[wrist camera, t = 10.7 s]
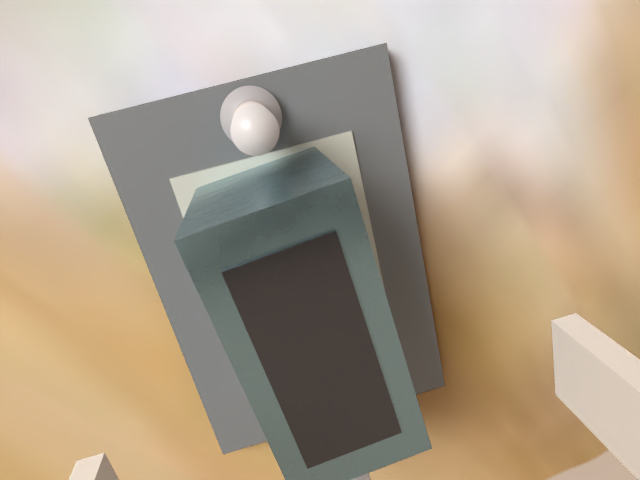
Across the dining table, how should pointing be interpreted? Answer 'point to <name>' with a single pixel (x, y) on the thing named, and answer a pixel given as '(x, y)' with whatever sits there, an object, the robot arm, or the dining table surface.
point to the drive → (304, 316)
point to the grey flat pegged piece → (254, 150)
